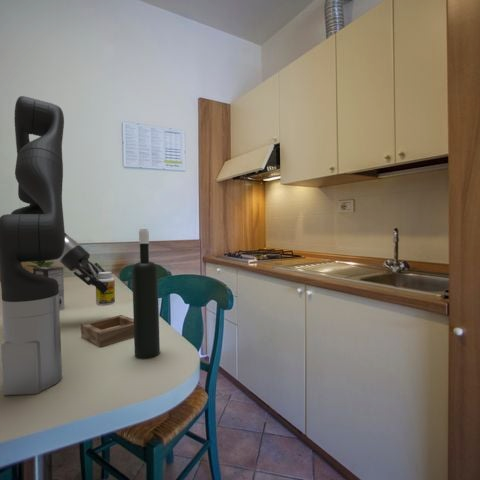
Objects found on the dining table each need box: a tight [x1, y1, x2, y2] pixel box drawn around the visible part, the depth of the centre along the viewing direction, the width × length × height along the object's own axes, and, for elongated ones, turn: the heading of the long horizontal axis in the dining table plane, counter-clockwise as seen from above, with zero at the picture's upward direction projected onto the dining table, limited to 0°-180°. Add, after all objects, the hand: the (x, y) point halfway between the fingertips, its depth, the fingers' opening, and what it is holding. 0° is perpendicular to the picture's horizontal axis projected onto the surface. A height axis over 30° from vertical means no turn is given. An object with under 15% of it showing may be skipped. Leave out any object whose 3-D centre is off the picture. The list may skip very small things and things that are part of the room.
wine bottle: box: [131, 228, 161, 360], centre depth 73 cm, size 6×6×30 cm
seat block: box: [80, 314, 134, 348], centre depth 87 cm, size 12×12×4 cm
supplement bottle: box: [95, 271, 116, 307], centre depth 99 cm, size 6×6×10 cm
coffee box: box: [32, 265, 65, 311], centre depth 117 cm, size 9×6×16 cm
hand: (109, 289), depth 99 cm, fingers closed on supplement bottle, 5 cm apart
